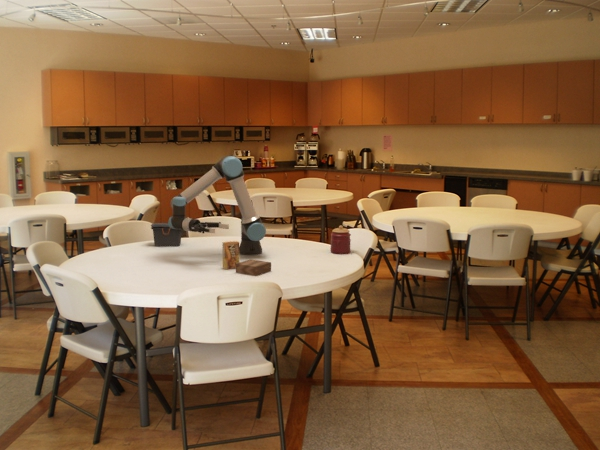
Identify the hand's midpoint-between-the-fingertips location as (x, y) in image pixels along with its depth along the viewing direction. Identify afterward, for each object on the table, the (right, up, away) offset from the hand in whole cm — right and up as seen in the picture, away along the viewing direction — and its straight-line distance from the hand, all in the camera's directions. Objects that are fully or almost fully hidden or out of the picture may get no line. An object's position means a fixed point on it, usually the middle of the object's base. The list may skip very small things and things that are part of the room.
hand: (221, 228), depth 359 cm
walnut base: (+19, -24, -10) cm, 32 cm away
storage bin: (-45, -12, +65) cm, 79 cm away
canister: (+71, -16, +47) cm, 86 cm away
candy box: (+5, -23, -1) cm, 23 cm away
